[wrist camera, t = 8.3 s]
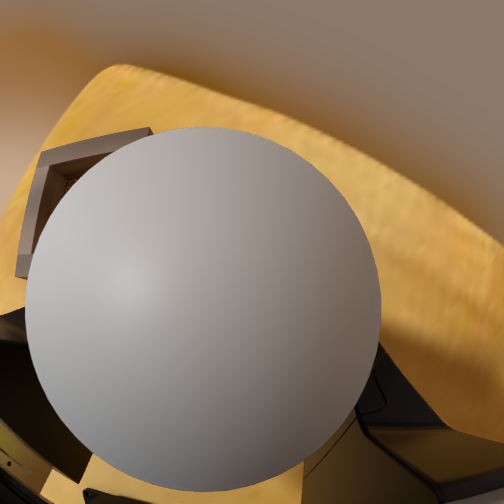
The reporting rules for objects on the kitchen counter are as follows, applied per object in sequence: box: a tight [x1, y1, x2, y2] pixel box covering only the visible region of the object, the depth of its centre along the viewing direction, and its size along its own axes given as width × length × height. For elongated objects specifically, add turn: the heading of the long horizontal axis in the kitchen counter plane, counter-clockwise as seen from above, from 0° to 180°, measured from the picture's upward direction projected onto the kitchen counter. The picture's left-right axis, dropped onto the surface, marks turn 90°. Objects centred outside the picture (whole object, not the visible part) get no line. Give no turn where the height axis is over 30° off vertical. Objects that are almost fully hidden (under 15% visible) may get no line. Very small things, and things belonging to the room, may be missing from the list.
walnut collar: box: [15, 127, 154, 280], centre depth 18 cm, size 10×10×2 cm
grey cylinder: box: [25, 127, 381, 492], centre depth 9 cm, size 4×4×13 cm
